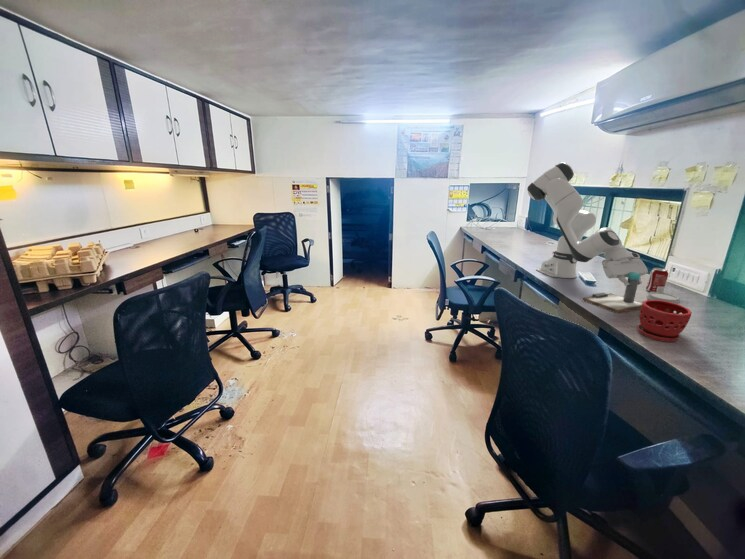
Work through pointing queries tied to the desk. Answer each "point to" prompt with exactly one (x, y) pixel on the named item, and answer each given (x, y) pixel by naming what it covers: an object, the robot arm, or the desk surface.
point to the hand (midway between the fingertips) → (634, 284)
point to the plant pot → (662, 320)
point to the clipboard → (612, 302)
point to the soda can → (657, 280)
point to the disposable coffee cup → (662, 298)
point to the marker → (631, 287)
